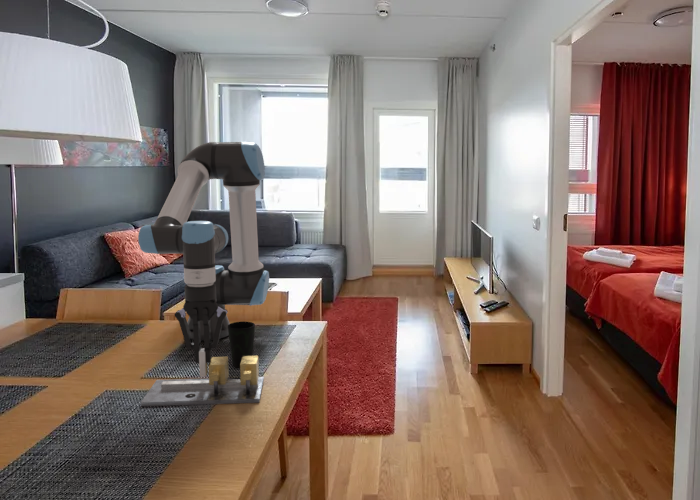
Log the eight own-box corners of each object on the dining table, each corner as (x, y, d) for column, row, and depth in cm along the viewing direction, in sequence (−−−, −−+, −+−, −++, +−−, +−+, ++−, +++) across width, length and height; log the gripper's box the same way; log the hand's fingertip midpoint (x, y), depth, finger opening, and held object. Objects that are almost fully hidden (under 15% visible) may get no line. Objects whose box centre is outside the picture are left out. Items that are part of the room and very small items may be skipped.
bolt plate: (156, 383, 144) (156, 379, 144) (263, 380, 146) (263, 376, 146) (141, 406, 130) (140, 402, 130) (259, 402, 132) (259, 398, 132)
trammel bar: (165, 383, 141) (164, 358, 140) (259, 381, 143) (258, 355, 142) (155, 399, 132) (153, 371, 131) (255, 396, 134) (255, 368, 133)
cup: (249, 371, 153) (248, 329, 151) (224, 369, 154) (223, 328, 153) (259, 361, 160) (258, 322, 159) (235, 359, 162) (234, 320, 160)
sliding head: (213, 381, 142) (212, 356, 141) (228, 380, 142) (228, 356, 141) (206, 396, 133) (205, 370, 132) (223, 395, 133) (222, 369, 132)
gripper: (169, 287, 131) (174, 381, 134) (224, 286, 132) (227, 379, 135) (177, 280, 138) (181, 369, 142) (229, 280, 139) (231, 368, 143)
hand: (203, 374), depth 138 cm, fingers closed
